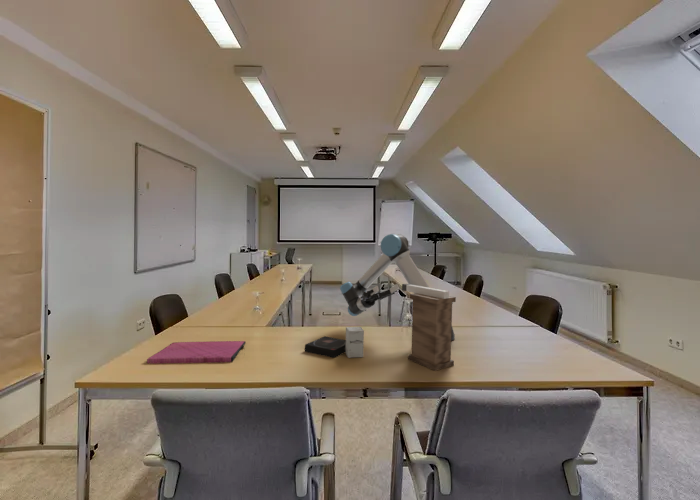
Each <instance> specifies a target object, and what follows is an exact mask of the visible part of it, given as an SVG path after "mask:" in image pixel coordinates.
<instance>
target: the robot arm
mask: <svg viewBox="0 0 700 500" xmlns="http://www.w3.org/2000/svg"><path fill="white" fill-rule="evenodd" d="M409 246H410V245H409V240H408V238H407V237H406V236H405V235H403V234H401V233H400V234H396V233H390V234H387V235H384V237H383V238H382V239H381V242H380V250H381V252H382V254H381V255H380V256H379V257H378V258H377V260H376V261H375V262H374V263H373V264H372V266H370V267H369V269H367V270H366V271H365V272H364V273H363V275H362V276H361V277H360V278H359V279H358V280H357V282H355V284H353V283H352V282H351V281H347V282H345V283H343V284H342V285H340V287H339V290H340V292H341V295H342V296H343V298H344V300H345V301H346V303H347V305H348V306H347V312H348V314H349V315H350V316H352V317H356V316H358V315H360V314H362V313H363V312H367V310H369V309H370V308H371V307H373V306H375V304H376V302H377V301H379V300H380V301H382V300H383V299H385V298H388V297H390V296H392V295H395V294H396V291H398V290H400V287H399V284H398V283H396V284H395V285H393V286H392V287H389V289H387V290H384V291H382V292H379V291H380V289H379V286H378V285H375V286H374V287H372V288H371V289H369V287H371V286H372V285H373V284H374V282H376V280H377V279H378V278H379V277H380V276H381V275H382V274H383V273H384V272H385V271H386V270H387V269H388V268H389V267H390V265H392V264H395V265H396V266H397V268H398V269H399V271H400V272H401V274H402V275H403V276H402V277H403V278H404V279H405V281H406V282H407V284H411V285H416V286H422V287H428V288H431V287H430V285H429V284H428V282H427V281H426V279H425V277H424V275H422V273H421V271H420V270H419V268H418V267H417V265H416V263H415V262H414V260H413V258H412V257H411V255H410V253H411V250H410V249H409ZM368 289H369V290H368ZM413 294H415V293H413ZM359 296H360V297H359ZM453 303H454V302H452V305H453ZM455 335H456V334H455V332H454V328H453V326H452V327H451V342H452V341H454V340H455V338H456V337H455Z"/></svg>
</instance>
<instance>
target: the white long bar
mask: <svg viewBox="0 0 700 500" xmlns="http://www.w3.org/2000/svg"><path fill="white" fill-rule="evenodd" d="M401 291H403V292H404V291H405V292H407V293H412V294H414V293H418V294H423V295H428V296H433V297H438V298H443V299H446V298H449V296H450V291H449V290H444V289H438V288H434V287H433V288H432V287H430V288H428V287H422V286H416V285H411V284H408V283H402V284H401Z"/></svg>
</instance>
